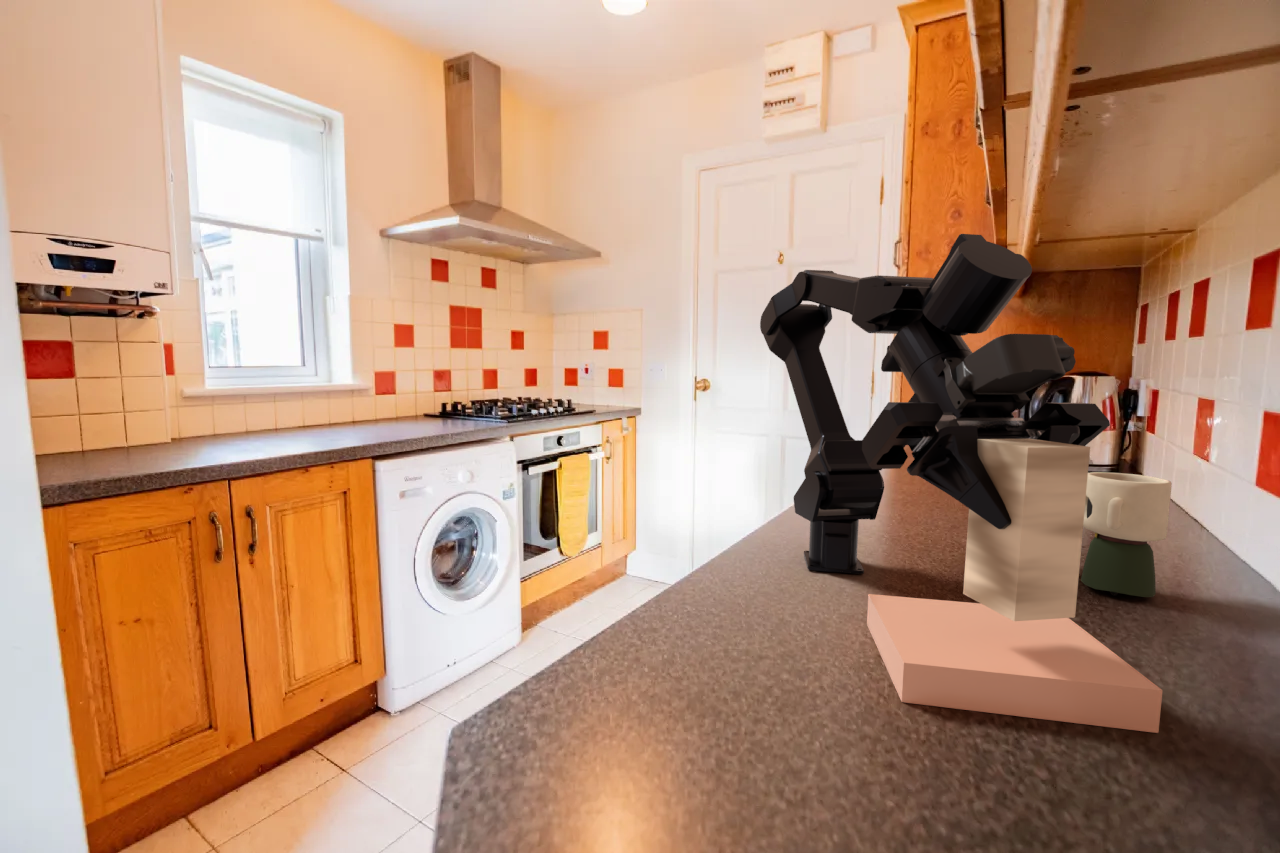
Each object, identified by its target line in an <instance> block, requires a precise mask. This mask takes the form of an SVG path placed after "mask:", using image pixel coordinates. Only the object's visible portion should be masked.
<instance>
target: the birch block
mask: <svg viewBox="0 0 1280 853" xmlns="http://www.w3.org/2000/svg"><path fill="white" fill-rule="evenodd" d="M977 440H978V456H979V458H980V460H981V462H982V463H983V465H984V467H985V469H986V471H987V473H988V474H989V476H990V478H991V480H992V482H993V484H994V485H995V487H996V489H997V491H998V493H999V495H1000V496H1001V498H1002V500H1003V502H1004V504H1005V506H1006V509H1007V511H1008V513H1009V516H1010V518H1011V524H1010V525H1009V526H1008V527H1006V528H1005V529H998V528H996V527H995V526H993V525H992V524H990V523H989V522H988V521H986V520H985V519H983V518H982V517H980V516H979V515H978V514H976V513H975V512H973V511H972V510H970V509H969V508H968V516H967V517H968V518H967V530H966V532H967V533H966V534H967V535H966V546H965V548H966V549H965V559H964V560H965V562H964V574H963V591H962V594H963V595H965V596H966V597H968V598H970V599H972V600H974V601H975V602H976V603H980V604H983V605H985V606H987V607H989V608H990V609H992V610H994V611H996V612H998V613H1000V614H1002V615H1003V616H1005V617H1007V618H1009V619H1011V620H1013V621H1028V620H1043V619H1058V618H1069V619H1071V618H1075V617H1076V609H1077V598H1078V588H1079V579H1080V578H1079V576H1080V575H1079V574H1080V567H1081V566H1080V563H1081V555H1082V554H1081V553H1082V545H1083V544H1082V542H1083V531H1084V527H1083V522H1084V511H1085V500H1086V489H1087V477H1088V473H1089V464H1090V456H1091V455H1090V452H1091V446H1087V445H1086V446H1080V445H1073V444H1066V443H1059V442H1051V441H1044V440H1037V439H977Z"/></svg>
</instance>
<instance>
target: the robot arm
mask: <svg viewBox="0 0 1280 853" xmlns="http://www.w3.org/2000/svg"><path fill="white" fill-rule="evenodd" d="M1032 272H1033V268H1032V265H1031V263H1030V262H1029V260H1028V259H1027V258H1026V257H1025V256H1024V255H1022V254H1021V253H1015V252H1014V251H1012V250H1010V249H1009V248H1007V247H1004V246H1002V245H999V244H997V243H994V242H990V241H987V240H986V239H985V238H984V236H983V235H982V234H974V233H973V234H971V233H970V234H969V233H960V234H959V235H958V236H957V238H956V239H955V241H954V243H953V244H952V246H951V248H950V251H949V253H948V255H947V257H946V259H945V260H944V261H943V263H942V264H941V266H940V268H939V269H938V271H937V272H936V274H935V276H934V277H923V276H922V277H918V276H897V275H872V276H865V277H856V276H851V275H846V274H842V273H841V274H840V273H836V272H835V271H832V270H825V269H823V270H820V269H805V270H802V271H799V272H798V273H797V274H796V276H795V277H794V279H793V281H792V282H791V283H790V284H789V285H787V286H786V287H784V288H783V289H781V290H779V291H778V292H776V293H775V294H773V295H772V297H771V298H770V299H769V301H768V303H767V305H766V306H765V308H764V310H763V312H762V314H761V316H760V323H759V326H760V327H759V328H760V331H761V334H762V335H763V338H764V341H765V343H766V345H767V348H768V350H769V351H770V352H771V353H772V354H774V355H775V356H776V357H777V358H779V359H780V360H781V361H782V362H784V364H785V366H786V369H787V373H788V376H789V381H790V384H791V387H792V390H793V392H794V396H795V400H796V403H797V407H798V409H799V413H800V416H801V419H802V423H803V426H804V429H805V430H804V431H805V433H806V436H807V440H808V442H809V447H810V452H809V455H808V458H807V462H805V463H806V464H805V467H804V470H803V472H804V479H803V482H802V483H801V484H800V486H799V487H798V489H797V491H796V492H795V494H794V495H793V505H794V513H795V514H796V515H798V516H800V517H801V518H804V519H805V520H808V521H809V522H810V523H809V543H808V545H809V546H808V548H809V549H808V550H804V551H803V558H804V561H805V564H806V567H807V568H806V569H807V570H809V571H814V572H815V571H818V572H831V573H843V574H855V575H856V574H857V575H859V574H860V575H863V574H864V573H865V569H864V567H863V566H862V564H861V562H860V560H859V559H858V544H859V543H858V542H859V522H860V521H859V520H870V521H873V520H876V518H877V514H878V512H879V508H880V504H881V502H882V498H883V495H884V490H885V483H884V482H885V481H884V478H883V475H882V474H881V471H882V470H883V469H884V470H885V469H887V470H889V469H891V470H892V469H894V470H896V469H901V468H902V467H903V465H905V463H906V461H907V459H908V458H909V456H908V454H907V451H906V450H905V447H906V446H908V447H909V449H910V451H911V455H912V457H913V460H912V462H911V463H910V464H909V465H908V466H907V468H906V471H907V473H908V475H909V476H912V477H913V476H914V477H915V476H916V477H920V478H921V479H923V480H924V481H926V482H927V483H929V484H931V485H932V486H934V487H935V488H937V489H939V490H941V491H942V492H943V493H946V495H949V496H950V497H952V498H953V499H955V500H956V501H958V502H959V503H960V504H962V505H964V506H965V507H966V508H967V509H968V510H969V509H970V510H972V511H973V512H975V513H976V514H978V515H979V516H980V517H982V518H983V519H985V520H986V521H988V522H989V523H990V524H992V525H993V526H995V527H996V528H998V529H1005V528H1006V527H1008V526H1009V525H1010V524H1011V518H1010V516H1009V513H1008V511H1007V509H1006V506H1005V504H1004V502H1003V500H1002V498H1001V496H1000V495H999V493H998V491H997V489H996V487H995V485H994V484H993V482H992V480H991V478H990V476H989V474H988V473H987V471H986V469H985V467H984V465H983V463H982V462H981V460H980V458H979V456H978V440H977V439H1037V440H1044V441H1051V442H1059V443H1066V444H1073V445H1080V446H1087V445H1088V444H1089V443H1091V442H1092V441H1093V440H1094V439H1095V438H1097V436H1099V435H1100V434H1101V433H1102V432H1103V431H1105V430H1106V429H1107V428H1109V426H1111V423H1110V420H1109V418H1108V417H1107V416H1106V415H1105V414H1104V412H1103V411H1102V410H1101V409H1100V408H1099V407H1098V405H1097V404H1096V403H1091V402H1090V403H1088V402H1045V403H1044V404H1043V405H1041V407H1039V409H1037V411H1036V412H1034V414H1033V415H1031V417H1030V418H1029V419H1027V420H1025V419H1024V418H1023V417H1015V415H1014V412H1015V411H1016V410H1022V409H1023V408H1024V407H1025V406H1026V405H1027V404H1028V403H1029V402H1030V398H1029V396H1028V395H1027V394H1026V392H1027V393H1028V392H1029V391H1031V390H1033V389H1036V388H1037V387H1040V386H1041V385H1043V384H1046V383H1047V382H1050V381H1052V380H1053V381H1057V380H1060V379H1062V378H1063V377H1064V376H1065V375H1066V373H1068V372H1071V371H1072V370H1073V369H1074V368H1075V366H1076V358H1075V348H1074V347H1073V346H1070V345H1069V344H1068V343H1066V342H1065V341H1064V338H1063V337H1060V336H1059V335H1056V334H1048V333H1047V334H1044V333H1043V334H1038V333H1007V334H1003V335H1000V336H997V337H996V338H995V337H994V338H993V339H992V340H990V341H989V342H987V343H985V344H984V345H983V346H980V347H978V348H977V349H976V350H975V351H973V350H971V349H970V348H969V345H968V344H967V343H966V342H965V340H964V339H963V337H962V336H967V335H969V334H971V335H975V334H976V335H977V334H982V333H984V332H986V331H987V330H988V329H989V328H990V327H991V325H992V324H993V323H994V321H996V319H997V318H998V317H999V315H1000V314H1001V313H1002V312H1003V310H1004V309H1006V307H1007V305H1008V304H1009V302H1010V301H1011V300H1012V299H1013V298H1014V296H1015V295H1016V294H1017V293H1018V291H1019V290H1020V289H1021V287H1022V286H1023V285H1024V283H1025V282H1026V281H1027V279H1028V278H1029V277H1030V276H1031V274H1032ZM803 302H812V303H815V304H812V303H811V304H808V303H803ZM817 304H818V305H817ZM832 309H835V310H839V311H841V312H845V313H848V314H849V315H851V322H852V323H853V324H855V325H856V326H858V328H861V329H862V330H863V331H865V332H866V333H867V334H889V335H890V334H892V335H893V334H894V335H895V336H894V337H893V339H892V341H891V342H890V344H889V345H888V346H887V347H886V353H885V355H884V357H883V359H882V360H881V365H880V366H881V367H880V370H881V371H882V372H883V373H885V372H886V373H902V374H903V376H904V378H905V379H906V381H907V383H908V385H909V386H910V388H911V390H912V391H913V392H912V393H913V394H912V396H911V397H910V399H909V400H908V402H907V401H906V402H905V401H900V402H899V401H888V402H887V403H886V404H885V407H883V410H882V411H881V412H880V413H879V415H878V416H877V418H876V419H875V421H874V422H873V424H872V425H871V427H870V428H869V429H868V431H867V432H866V434H865V436H863V438H862V439H861V440H859V439H857V440H856V439H855V438H853V437H852V436H851V435H850V432H849V429H848V427H847V423H846V421H845V418H844V416H843V412H842V409H841V407H840V403H839V401H838V398H837V395H836V393H835V389H834V386H833V383H832V381H831V378H830V376H829V372H828V370H827V366H826V364H825V361H824V358H823V356H822V352H821V349H820V346H821V343H822V341H823V338H824V337H825V334H826V328H827V326H828V325H829V324H830V323H831V321H832V319H833V314H832ZM972 351H973V352H972Z"/></svg>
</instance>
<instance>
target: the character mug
mask: <svg viewBox="0 0 1280 853" xmlns="http://www.w3.org/2000/svg"><path fill="white" fill-rule="evenodd" d="M1171 494H1172V481H1170V480H1167V479H1165V478H1161V477H1160V478H1159V477H1156V476H1155V477H1154V476H1150V475H1144V474H1142V475H1141V474H1136V473H1135V474H1133V473H1121V472H1105V471H1104V472H1100V471H1098V472H1097V471H1095V472H1088V477H1087V489H1086V500H1085V511H1084V522H1083V529H1086V530H1088V531H1091V532H1092V533H1094V537H1093V538H1092V539H1091V541H1090V543H1089V545H1088V550H1087V552H1086V553H1087V554H1086V556H1085V557H1086V558H1085V560H1084V563H1083V564H1084V565H1083V568H1082V573H1081V578H1080V581H1081V582H1082V584H1084V585H1085V586H1087V587H1089V588H1091V589H1094V590H1097V591H1098V590H1100V591H1107V592H1110V595H1112V596H1118V594H1123V595H1128V596H1134V597H1142V598H1153V597H1154V596H1155V595H1156V591H1157V589H1156V588H1157V587H1156V570H1155V560H1154V559H1155V556H1154V551H1153V548H1152V546H1151V545H1150V544H1149V543H1151V542H1160V541H1165V540H1166V539H1167V534H1168V525H1169V517H1170V515H1169V514H1170V505H1171V496H1172V495H1171ZM1148 542H1149V543H1148Z"/></svg>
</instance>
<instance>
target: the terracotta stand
mask: <svg viewBox="0 0 1280 853" xmlns="http://www.w3.org/2000/svg"><path fill="white" fill-rule="evenodd" d="M867 596H868V597H867V618H866V619H867V620H866V626H867V628H868V630H869V632H870V635H871V637H872V639H873V641H874V643H875V646H876V647H877V650H878V653H879V655H880V657H881V659H882V661H883V664H884V666H885V668H886V671H887V673H888V675H889V678H890V680H891V682H892V683H893V686H894V688H895V690H896V692H897V695H898V697H899V699H900V701H901V703H907V704H915V705H924V706H931V707H940V708H949V709H956V710H966V711H972V712H981V713H990V714H996V715H1007V716H1012V717H1013V716H1016V717H1022V718H1029V719H1030V718H1031V719H1032V718H1033V719H1039V720H1046V721H1047V720H1048V721H1054V722H1055V721H1056V722H1065V723H1071V724H1072V723H1074V724H1081V725H1090V726H1098V727H1105V728H1115V729H1123V730H1130V731H1138V732H1139V731H1140V732H1148V733H1156V734H1159V732H1160V731H1159V730H1160V718H1161V708H1162V701H1163V700H1162V699H1163V691H1164V690H1163V689H1161V687H1159V686H1158V685H1156V684H1155V683H1153V682H1152V681H1151V680H1150V679H1148V678H1147V677H1146V676H1145V675H1143V674H1142V673H1141V672H1139V671H1138V670H1137V669H1135V667H1133V666H1131V665H1130V664H1129V663H1128V662H1127V661H1125V660H1124V659H1122V657H1120V656H1119V655H1117V654H1116V653H1115V652H1113V651H1112V650H1111V649H1110V648H1108V647H1107V646H1106V645H1104V644H1103V643H1102V642H1101V641H1099V640H1098V639H1096V638H1095V637H1094V636H1093V635H1092V634H1091V633H1089V632H1087V631H1086V630H1085V629H1083V627H1081V626H1080V625H1078V624H1077V623H1076V622H1074V621H1073V620H1072V619H1071V618H1058V619H1043V620H1028V621H1013V620H1011V619H1009V618H1007V617H1005V616H1003V615H1002V614H1000V613H998V612H996V611H994V610H992V609H990V608H989V607H987V606H985V605H983V604H981V603H979V602H966V601H955V600H943V599H931V598H919V597H918V598H917V597H908V596H907V597H906V596H896V595H886V594H885V595H884V594H873V593H868V595H867Z"/></svg>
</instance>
